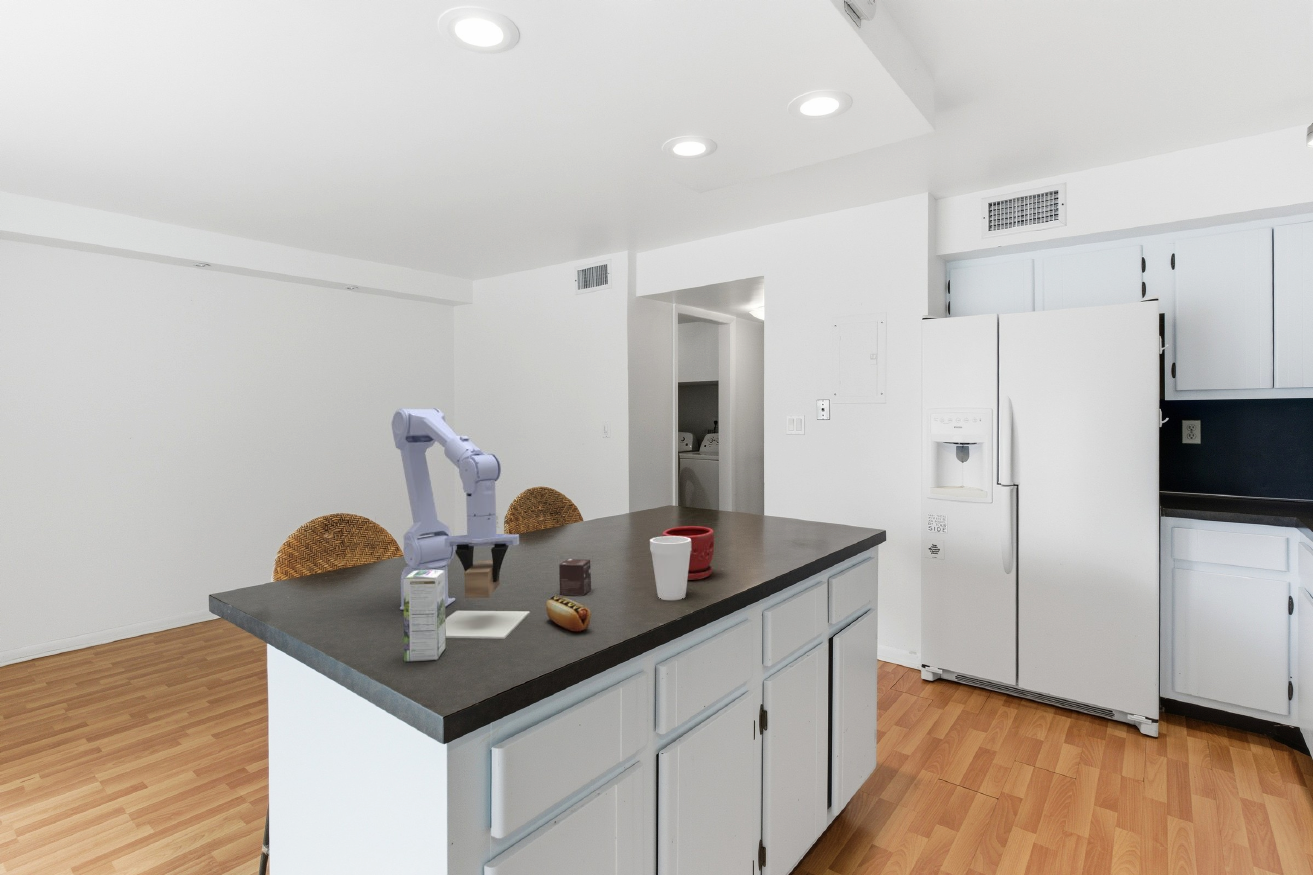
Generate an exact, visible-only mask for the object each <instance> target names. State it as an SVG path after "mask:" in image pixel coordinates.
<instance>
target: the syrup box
mask: <svg viewBox="0 0 1313 875" xmlns="http://www.w3.org/2000/svg"><path fill="white" fill-rule="evenodd" d="M403 589H404V610H403V644H404V645H403V651H404V652H403V653H404V654H403V655H404V657H403V661H404V662H420V661H421V662H422V661H438V660H439V658H440V657H441V655H442V654H443V652H444V651H445V650H446V648H447V642H446V639H447V638H446V628H445V619H446V607H445V571H443V570H418V571H413V572H412V573H411V574H409V575H408V576H407V577H406V578H404V580H403Z"/></svg>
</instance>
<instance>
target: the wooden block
mask: <svg viewBox="0 0 1313 875" xmlns="http://www.w3.org/2000/svg"><path fill="white" fill-rule="evenodd" d="M500 574H501V573H500ZM500 574H499V580H498V581H497V582H493V560H477V561H476V562H475V563H473V566H471V567H470V568H469V569H468V570H467V571H466V572H465V571H464V598H465V599H483V598H484V599H488V598H490V596H491V595H492V594H493V593H494V591H496V589H498V587H499V586H500V585H501V581H500V580H501V579H500V578H501V577H500V576H501V575H500Z"/></svg>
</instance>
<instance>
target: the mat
mask: <svg viewBox="0 0 1313 875" xmlns="http://www.w3.org/2000/svg"><path fill="white" fill-rule="evenodd" d="M530 613H531V611H528V610H527V611H525V610H524V611H522V610H521V611H518V610H516V611H515V610H510V611H509V610H504V611H503V610H497V611H496V610H455V611H454V612H453V613H452V614H450V615H449V616H447V617H445V628H446V639H482V640H483V639H488V640H489V639H491V640H492V639H494V640H496V639H497V640H499V639H501V640H504V639H506V638H507V637H508V636H509V635H510V634H511V633H512V632H513V631H514V630H515V629H516V628H517V627H518V626H519V625H520V624H521V622H523V621H524V620H525V619H526V618H527V616H529V615H530Z"/></svg>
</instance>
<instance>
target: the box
mask: <svg viewBox="0 0 1313 875" xmlns="http://www.w3.org/2000/svg"><path fill="white" fill-rule="evenodd" d="M558 567H559V568H558V570H559V571H558V572H559V573H558V575H559V576H558V578H559V596H560V595H561V596H578V597H580V596H582V597H583V596H585V595H587V594H588V593H589V592H590V591H591V590H592V575H591V574H592V573H591V571H592V570H591V569H592V568H591V567H592V566H591V559H581V558H578V559H575V558H573V559H572V558H569V559H566V560H564V561H562V562H560V563H559V565H558Z"/></svg>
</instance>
